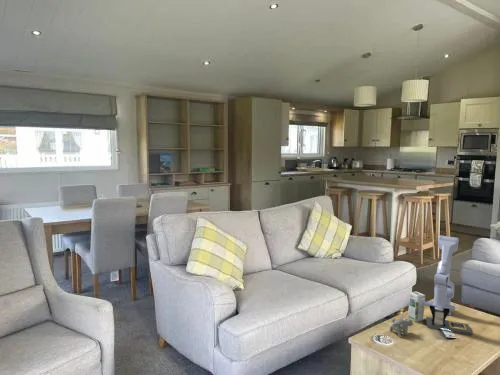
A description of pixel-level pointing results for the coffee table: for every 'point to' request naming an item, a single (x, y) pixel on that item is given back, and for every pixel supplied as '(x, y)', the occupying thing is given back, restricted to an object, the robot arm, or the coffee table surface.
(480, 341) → the coffee table surface
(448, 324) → the rail
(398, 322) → the gray elephant figurine
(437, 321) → the peg
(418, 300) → the syrup box
